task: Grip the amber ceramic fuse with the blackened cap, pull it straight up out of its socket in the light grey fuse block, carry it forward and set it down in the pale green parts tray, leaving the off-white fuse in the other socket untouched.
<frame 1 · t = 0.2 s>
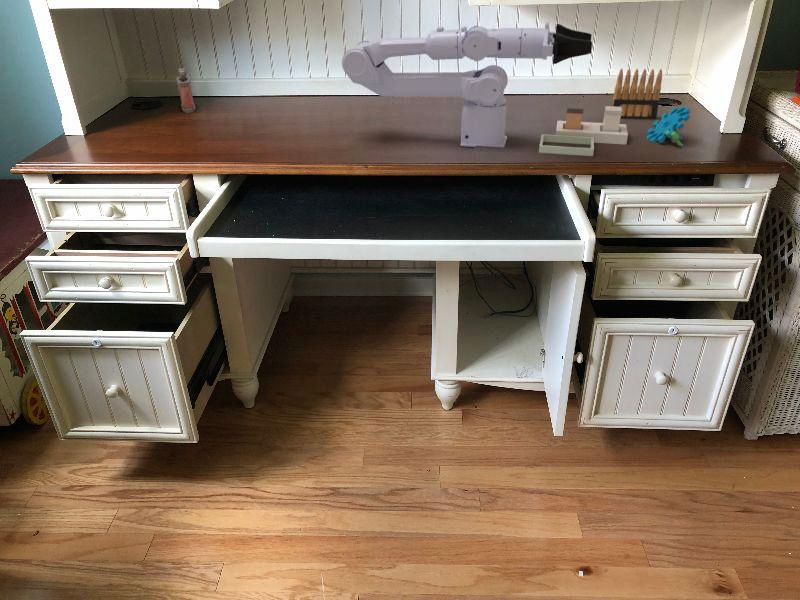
hand: (591, 43, 127), 21 cm above the table, tool horizontal, fingers open, 7 cm apart
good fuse: (608, 137, 142), point 1 cm above the table, touching fuse block
parts tray: (565, 150, 136), on the table
blown fuse: (571, 135, 143), point 1 cm above the table, touching fuse block
pink perfume bottle: (188, 109, 170), on the table
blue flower: (665, 143, 140), on the table
ammunition clip: (632, 121, 155), on the table
fuse block: (589, 139, 143), on the table
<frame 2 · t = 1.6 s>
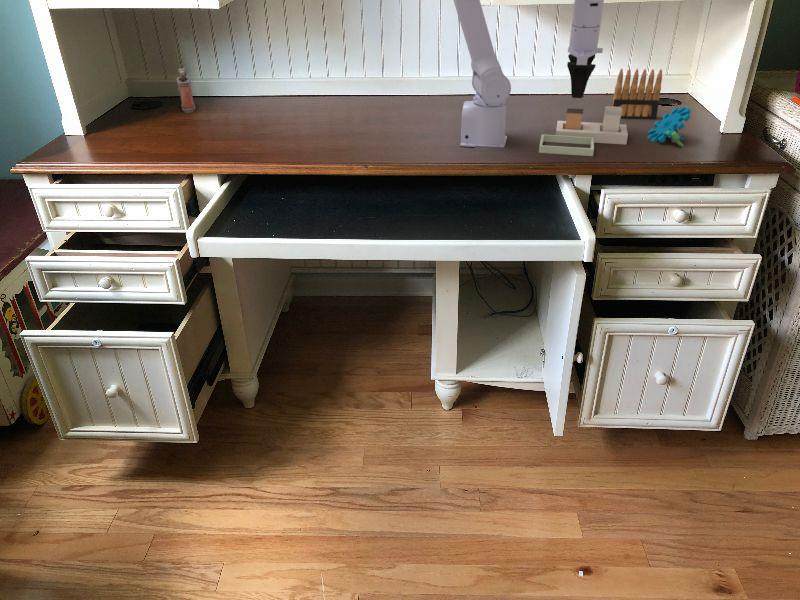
hand: (577, 93, 138), 10 cm above the table, tool pointing down, fingers open, 7 cm apart
nothing on the table moved.
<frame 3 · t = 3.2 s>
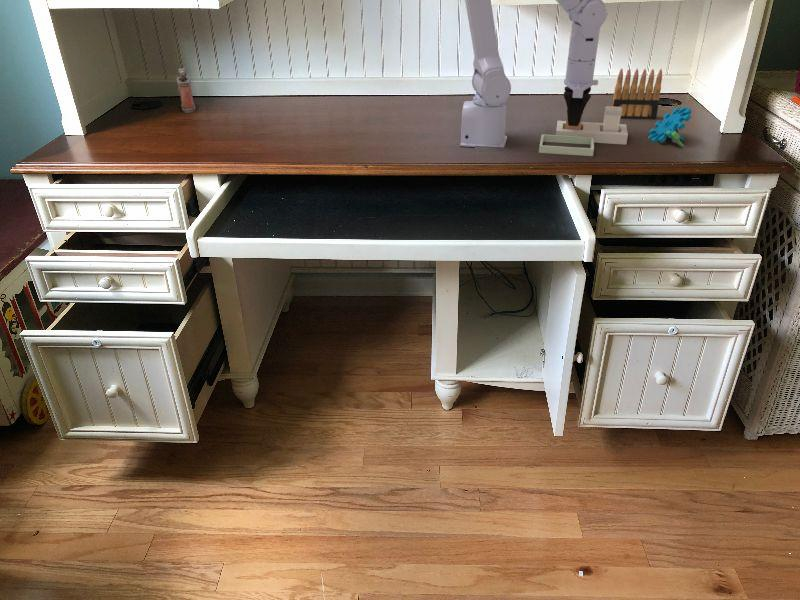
hand: (573, 123, 142), 3 cm above the table, tool pointing down, fingers closed on blown fuse, 3 cm apart
blown fuse: (571, 135, 143), point 1 cm above the table, touching fuse block, gripper
everything else where it was.
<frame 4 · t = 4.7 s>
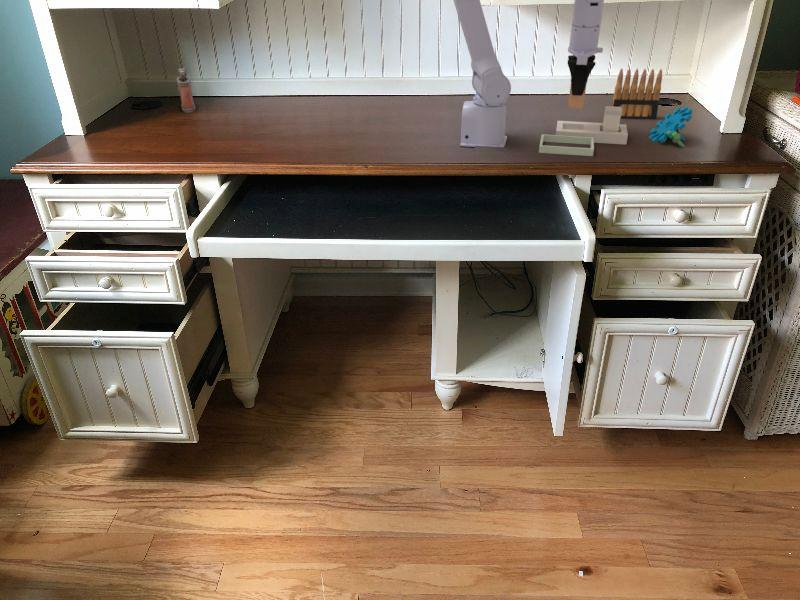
hand: (577, 92, 138), 10 cm above the table, tool pointing down, fingers closed on blown fuse, 3 cm apart
blown fuse: (575, 105, 140), point 7 cm above the table, touching gripper
everything else where it was.
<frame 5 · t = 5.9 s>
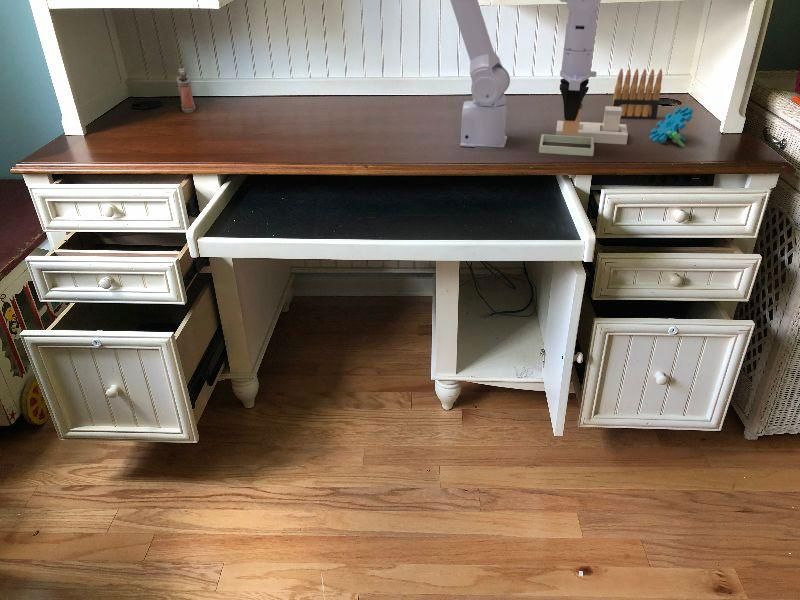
hand: (570, 117, 133), 7 cm above the table, tool pointing down, fingers closed on blown fuse, 3 cm apart
blown fuse: (570, 131, 134), point 4 cm above the table, touching gripper
everything else where it was.
when the fingers open (5 cm above the table, at t = 6.6 s): blown fuse drops 1 cm, resting on parts tray.
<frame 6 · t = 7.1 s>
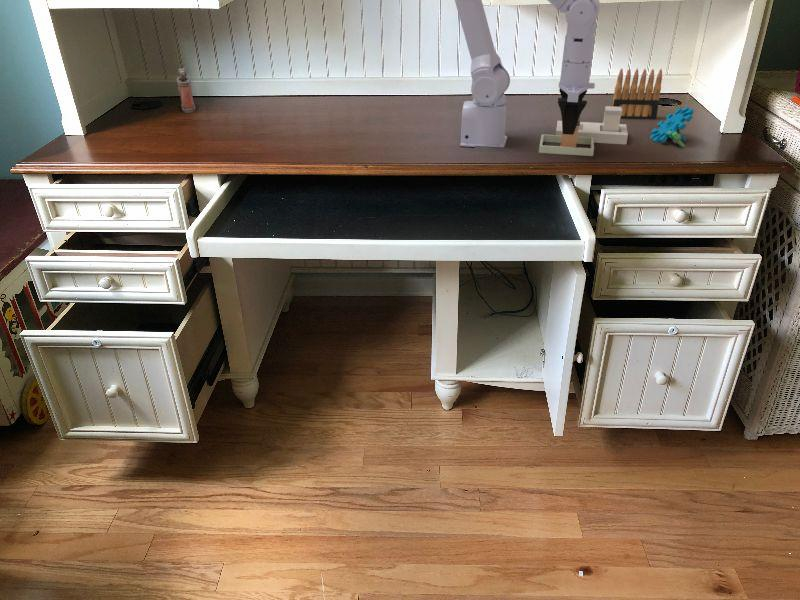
hand: (568, 128, 134), 5 cm above the table, tool pointing down, fingers open, 7 cm apart
blown fuse: (567, 148, 136), resting on parts tray
everything else where it was.
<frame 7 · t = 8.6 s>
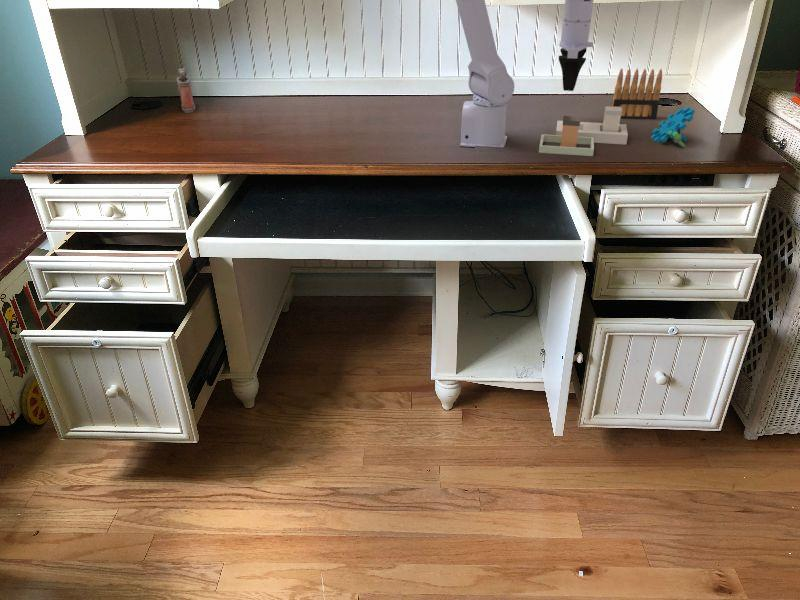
hand: (569, 86, 142), 10 cm above the table, tool pointing down, fingers open, 7 cm apart
nothing on the table moved.
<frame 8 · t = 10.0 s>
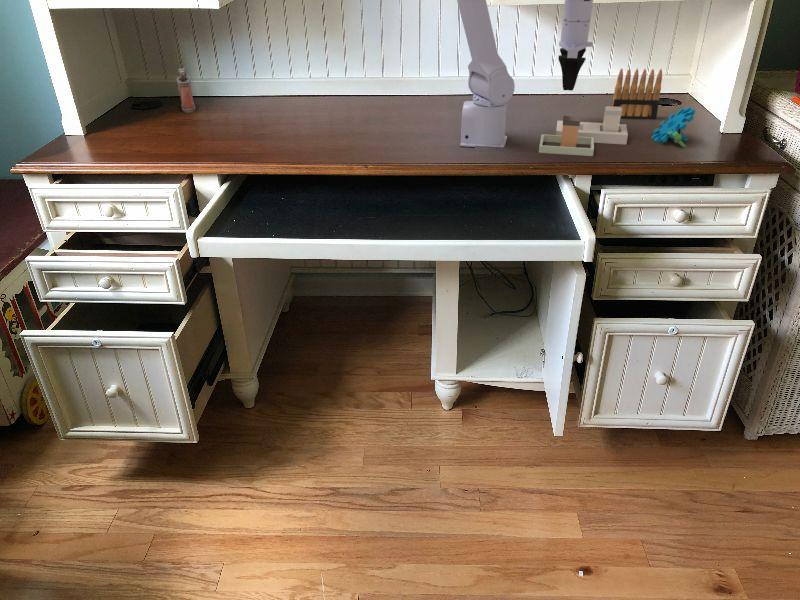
hand: (568, 85, 143), 10 cm above the table, tool pointing down, fingers open, 7 cm apart
nothing on the table moved.
at the end: blown fuse inside the target area on the parts tray (0.4 cm from its centre), point 0.5 cm above the parts tray's base; the gripper is holding nothing; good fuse moved 0.0 cm from its start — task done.
